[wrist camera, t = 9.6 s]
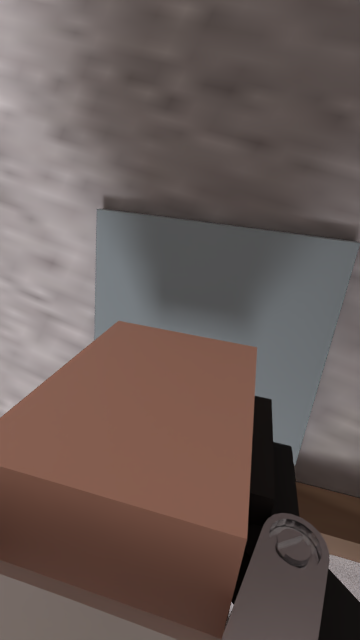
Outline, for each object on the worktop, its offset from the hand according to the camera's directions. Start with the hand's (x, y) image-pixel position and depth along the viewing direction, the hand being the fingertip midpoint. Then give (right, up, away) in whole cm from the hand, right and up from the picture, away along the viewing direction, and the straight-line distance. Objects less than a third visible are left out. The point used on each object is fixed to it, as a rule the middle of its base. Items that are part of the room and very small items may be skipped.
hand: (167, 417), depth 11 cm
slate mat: (+2, +2, +7) cm, 7 cm away
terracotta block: (0, 0, +1) cm, 1 cm away
